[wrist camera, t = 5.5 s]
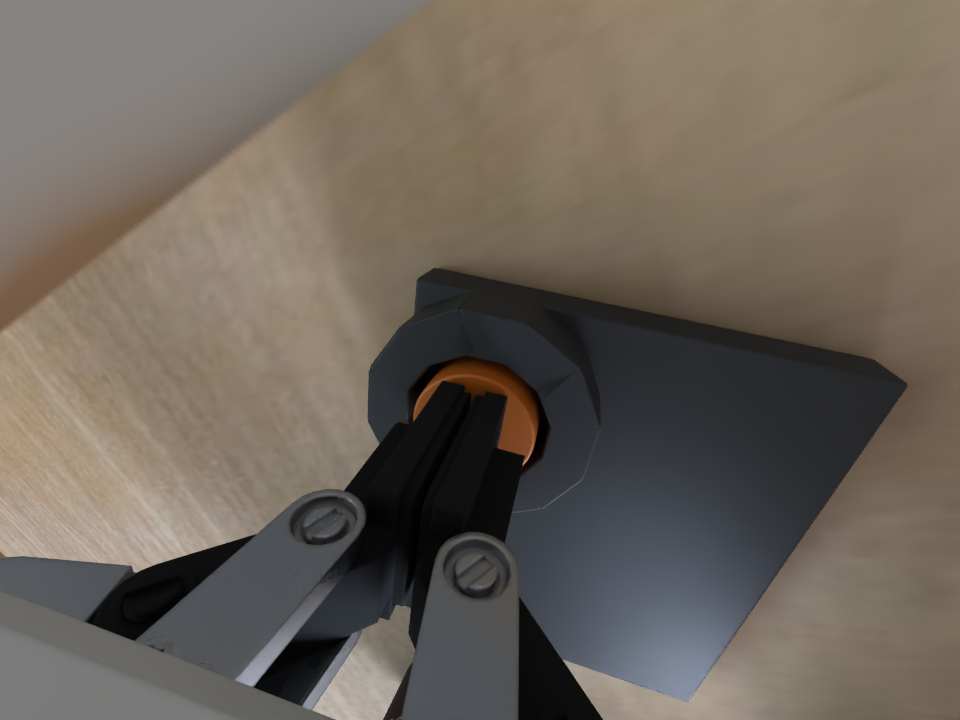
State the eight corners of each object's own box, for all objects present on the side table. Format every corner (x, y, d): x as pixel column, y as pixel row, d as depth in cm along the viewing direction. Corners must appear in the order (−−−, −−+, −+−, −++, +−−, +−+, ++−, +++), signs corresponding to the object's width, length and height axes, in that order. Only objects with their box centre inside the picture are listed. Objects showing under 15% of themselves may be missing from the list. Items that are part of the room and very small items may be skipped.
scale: (416, 261, 13) (369, 287, 10) (876, 357, 11) (967, 420, 8) (393, 570, 19) (361, 635, 16) (681, 664, 17) (697, 755, 15)
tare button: (437, 337, 12) (417, 361, 10) (553, 364, 11) (547, 393, 10) (427, 431, 13) (408, 463, 12) (529, 459, 13) (521, 496, 11)
